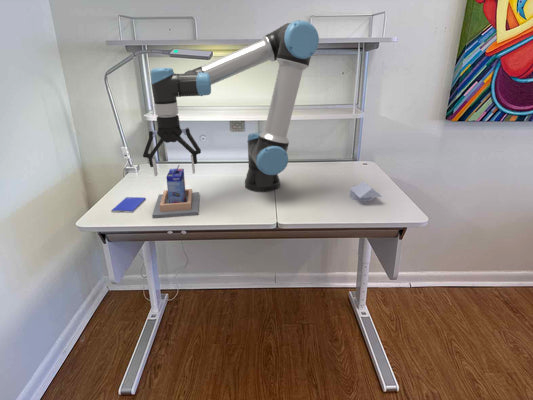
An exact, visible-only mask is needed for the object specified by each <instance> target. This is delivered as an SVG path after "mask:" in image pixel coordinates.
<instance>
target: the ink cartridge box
mask: <svg viewBox="0 0 533 400" xmlns="http://www.w3.org/2000/svg"><path fill="white" fill-rule="evenodd" d="M179 167H180V164H178V166H177V167H176V168H170V169H169V171H168V173H167V175H166V188H167V190H168V199H169V203H183V202H185V200H186V194H185V189H186V182H185V181H186V179H185V169H184V168H179Z"/></svg>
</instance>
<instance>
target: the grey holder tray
mask: <svg viewBox="0 0 533 400" xmlns="http://www.w3.org/2000/svg"><path fill="white" fill-rule="evenodd" d="M185 194H186V200H185V202H183V203H169V199H168V189H167V190H163V193H162V194H158V197H157V199H156V202H155V206H154V209H153V212H152V214H151V215H152V216H151V217H152V219H161V218H173V217H188V216H189V217H190V216H199V213H200V209H199V208H200V192H199V191H193V188H185Z"/></svg>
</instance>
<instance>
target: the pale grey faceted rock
mask: <svg viewBox="0 0 533 400" xmlns="http://www.w3.org/2000/svg"><path fill="white" fill-rule="evenodd" d="M378 197H382V195H381V194H380V193H379V192H378V191H377V190H375V189H374V188H373V187H372V186H370V185H369V184H368V183H366V182H365V181H361V182H359V184H357V185H352V186H351V187H350V190H349V198H350V199H352V200H354V201H358V202H368V201H372V200H373V199H374V198H378Z"/></svg>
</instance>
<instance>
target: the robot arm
mask: <svg viewBox="0 0 533 400" xmlns="http://www.w3.org/2000/svg"><path fill="white" fill-rule="evenodd" d="M319 42H320V36H319V33H318V31H317V28H316V27H315V26H314V25H313V24H312V23H311V22H309V21H306V20H294V21H292V22H289V23H288V22H287V23H286V24H283V25H282V26H280V27H278V28H277V29H275V30H273V31H272V32H269V33H267V34H265V35H263V36H262V39H261V40H259V41H257V42H255V43H252V44H249V45H247V46H245V47H242V48H239V49H237V50H236V51H233V52H231V53H228V54H225V55H224V56H221V57H219V58H216V59H214V60H211V61H210V62H208V63H205V64H203V65H200V66H199V67H196V68H193V69H191V70H190V69H189V70H187V71H185V72H184V73H175V72H174V69H173V68H172V67H155V68H152V69H151V70H150V84H151V90H152V98H153V101H154V112H155V115H156V125H157V130H153V129H150V130H149V132H148V136H149V137H148V139H147V143H146V145H145V148H144V151H143V154H142V157H143V158H145V159H148V161H149V167H150V168H153V174H154V177H158V175H159V173H158V167H157V160H156V156H155V154H156V153H157V151H158V150H159V148H160V147H161V146H162V145H163V143H166V144H168V143H176V142H178V143H179V144H181V145H182V146H183V147H184V148H185V150H187V151H188V152H189V153H190V154H191V155H190V160H191V171H192V174H195V173H196V168H195V165H196V164H197V163H198V158H197V156H198V155H200V154H201V153H202V151H201V148H200V146H199V145H198V143H197V142H196V140H195V139H194V137H193V135H192V134H191V130H190V127H186V128H181V125H180V117H179V115H178V114H179V109H178V107H179V106H178V100H177V98H181V97H182V98H183V97H199V96H200V97H204V96H210V95H211V93H212V85H215V84H217V83H219V82H221V81H224V80H226V79H228V78H231V77H234V76H235V75H239V74H240V73H243V72H245V71H247V70H249V69H251V68H252V69H253V68H255V67H256V66H259V65H261V64H264V63H265V62H268V61H271V62H272V63H273V62H275V61H277V63H278V65H279V66H278V71H277V75H276V78H275V79H276V80H275V83H274V87H273V92H272V96H271V101H270V106H269V109H268V113H267V118H266V123H265V126H264V130H263V131H262V132H252V133H249V134H248V135H247V141H246V142H247V154H248V155H247V156H248V159H247V160H248V170H247V173H246V177H245V179H244V186H245V189H247V190H250V191H254V192H269V191H270V192H271V191H275V190H277V189H279V188H280V186H281V182H280V181H281V180H280V177H279V174H280V173H281V172H284V170H286V168H287V166H288V163H289V156H288V147H289V145H290V140H289V139H288V137H287V135H288V131H289V129H290V128H289V127H290V123H291V120H292V117H293V111H294V108H295V105H296V100H297V95H298V92H299V88H300V85H301V84H300V83H301V80H302V77H303V76H302V75H303V72H304V71H305V70H306V69H307V68H309V67H310V66H309V65H310V62H311V59H312V56H314V54H315V53H316V52H317V50H318V48H319V44H320V43H319ZM182 134H184V135H185V136H186V137H187V139H188V140H189V142H190V143H191V144H192V146H193V147H191V146H190V145H189V143H187V142H186V140H184V138H183V137H182V136H181V135H182ZM156 136H158V137H159V138H160V139H159V141H158V142H157V143H156V144H155V146H154V148H153V149H152V150H151V152H150V153H149V150H150V148H151V145H152V143H153V140H154V138H155V137H156Z"/></svg>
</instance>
